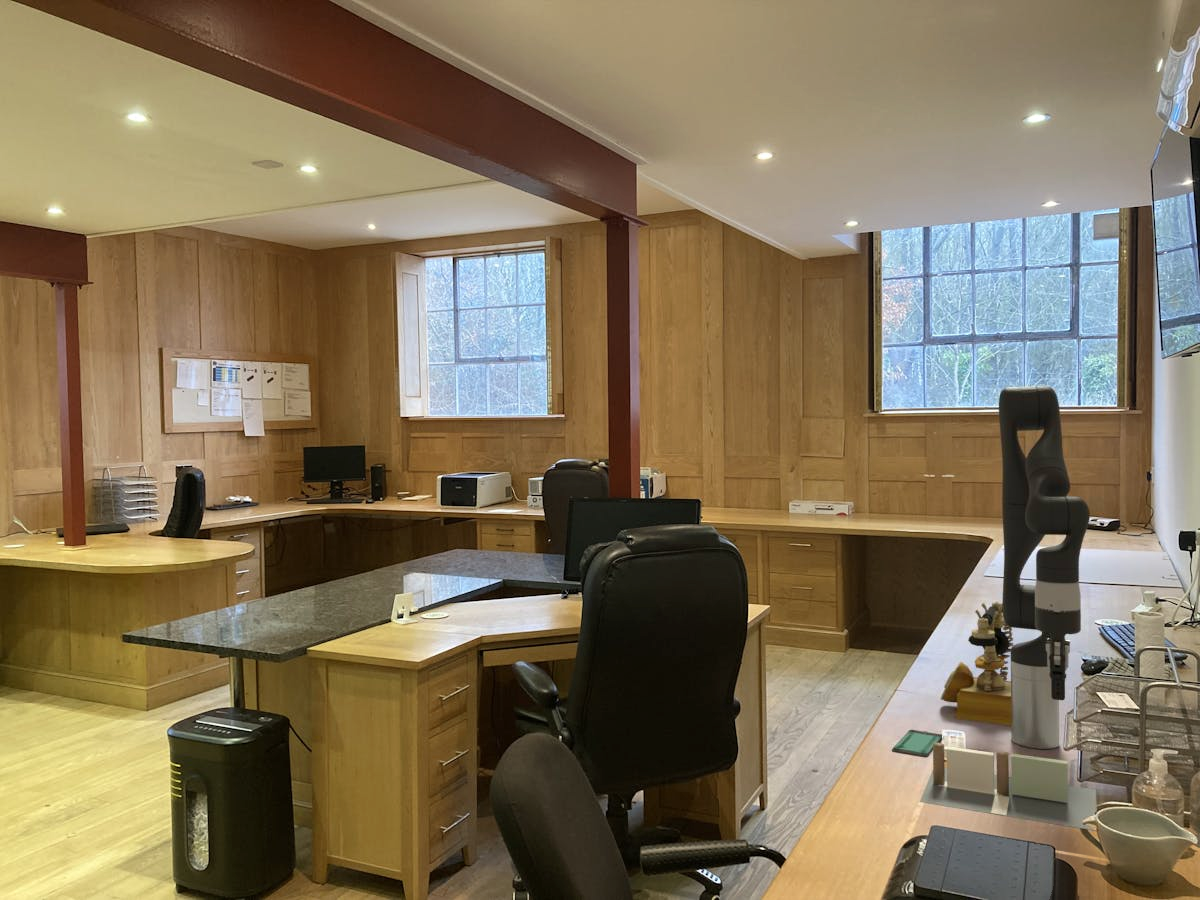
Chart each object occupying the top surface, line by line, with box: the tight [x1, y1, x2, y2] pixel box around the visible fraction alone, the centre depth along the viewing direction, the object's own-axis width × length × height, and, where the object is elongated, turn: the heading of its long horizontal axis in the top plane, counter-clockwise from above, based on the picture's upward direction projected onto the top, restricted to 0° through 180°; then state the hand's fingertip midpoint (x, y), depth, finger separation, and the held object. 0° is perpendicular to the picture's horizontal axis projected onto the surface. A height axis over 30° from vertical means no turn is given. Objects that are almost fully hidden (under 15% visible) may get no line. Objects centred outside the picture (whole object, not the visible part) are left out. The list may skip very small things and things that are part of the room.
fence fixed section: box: [932, 742, 1010, 796], centre depth 169 cm, size 2×13×7 cm, turn 62°
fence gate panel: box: [1010, 753, 1069, 803], centre depth 164 cm, size 9×2×7 cm, turn 62°
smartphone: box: [891, 729, 943, 758], centre depth 193 cm, size 7×1×15 cm
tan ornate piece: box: [940, 601, 1014, 727], centre depth 218 cm, size 35×18×25 cm, turn 149°
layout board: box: [919, 766, 1098, 832], centre depth 165 cm, size 19×28×1 cm
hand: (1058, 698), depth 168 cm, fingers closed
